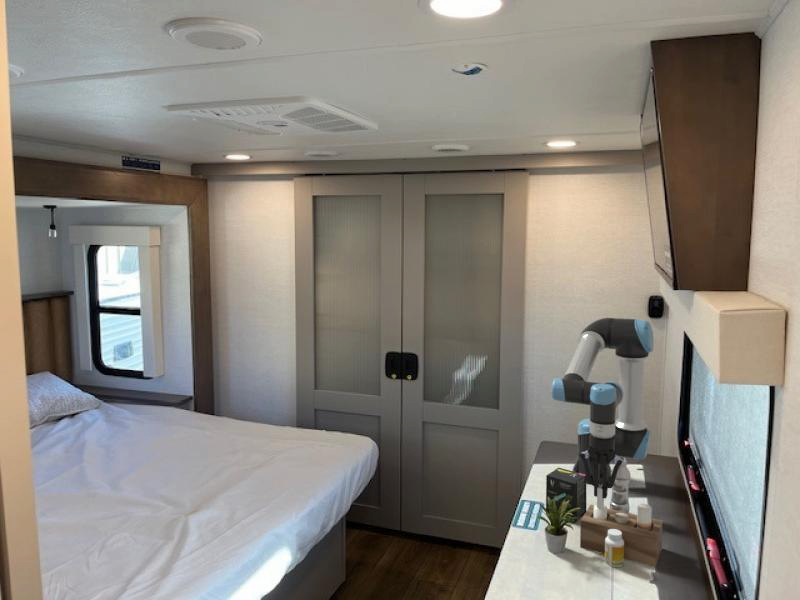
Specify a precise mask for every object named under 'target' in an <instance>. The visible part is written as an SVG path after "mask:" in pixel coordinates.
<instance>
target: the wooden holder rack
mask: <svg viewBox="0 0 800 600" xmlns="http://www.w3.org/2000/svg"><path fill="white" fill-rule="evenodd" d="M594 505H595V504H594ZM594 505H593V504H590V505H589V507H588V508H587V509H586V513H585V514H584V516H583V517H582V518H581V519H580V530H579V531H580V532H579V533H580V535H579V536H580V537H579V538H580V539H579V548H581V549H585V550H588V551H593V552H597V553H600V554H604V555H605V538H606V537H607V536H608V530H609V529H617V530H620V531H621V532H622V539H623V540H624V560H627V561H631V562H635V563H638V564H642V565H647V566H650V567H653V568H656V567H657V564H658V561H659V558H660V555H661V552H662V549H663V533H664V532H663V528H664V526H663V525H664V520H661V519H656V518H652V517H651V531H648V530H644V529H639V528H637V514H635V513H634V514H633V513H631V512H629V513H626V512H621V511H617V510H612V509H610V508H608V507H607V521H605V520H601V519H596V518H593V517H594Z"/></svg>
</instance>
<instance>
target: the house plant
mask: <svg viewBox="0 0 800 600" xmlns="http://www.w3.org/2000/svg"><path fill="white" fill-rule="evenodd" d="M568 502H569V500H568V501H566V502H565V499H564V501H563V503H562V504H561V506H560V508H559V510H558V512H557V507H556V504H555V500H554V498H553V503H554V507H553V503H552V502H551V500H550V498H549V497H548V505H549V507H548V508H549V513H550V514H549V513H548V511H547V510H546V506H544V505H543V504H541V503H540V502H539V503H538V504H539V505H540V506H541V508H542V509H543V511H542V510H541V512H543V513H544V515H545V516H546V517H547V519H546V518H545V517H544V516H542V515H536V516H535V518H536V519H538V520H539V519H540V520H542V521H543V522H545V523H547V526H544V536H545V542H546V548H547V551H548V552H550V553H552V554H555V555H559V554H562V553H564V552H565V550H566V544H567V539H568V533H569V532H568V529H567V528H569V529H572V530H574V527H573V526H572V525H571V523H570V522H573V521H575V520H573V519H574V518H578V517H573V518H572V517H571V516H568V515H569V514H571V513H572V512H575V511H574V510H576V509H580V508H575V509H572V510H570V511H567V512H564V511H565V509H566V508H567V504H568ZM546 514H547V515H546ZM564 514H565V515H564ZM563 515H564V516H563ZM571 515H573V514H571ZM562 516H563V517H562ZM561 517H562V518H561ZM566 518H570V519H568V520H567V519H566ZM565 519H566V521H564V520H565ZM569 523H570V524H569Z"/></svg>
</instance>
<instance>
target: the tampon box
mask: <svg viewBox="0 0 800 600" xmlns="http://www.w3.org/2000/svg"><path fill="white" fill-rule="evenodd" d="M586 477H587V476H586V475H584V474H581V473H577V472H573V470H569V469H566V468H562V467H557V468H556V469H554V470H552V471H551V472H549V473H548V474H547V475H545V481H546V482H545V508H546V510H547V511H548V513H549V508H548V507H549V505H548V497H549V498H550V500H551V502H552V503H553V498H554V500H555V504H556V507H557V512H558V510H559V508H560V506H561V504H562V503H563V501H564V499H565V502H566V501H568V500H569V502H568V504H567V508H566V509H565V511H564V512H567V511H570V510H572V509H575V508H580V509H576V510H574V511H575V512H572V513H571V514H573V515H571V514H569V515H568V516H571V517H572V518H573V517H578V518H574V519H573V520H575V521H573V522H570V524H574V525H575V523H578V521H579V520H581V519H582V517H583V516H584V514H585V513H586V511H587V483H586ZM553 507H554V503H553ZM545 514H546V513H545ZM549 514H550V513H549ZM546 515H547V514H546ZM546 515H545V516H546ZM564 515H565V514H564ZM564 515H563V516H564ZM563 516H562V517H563ZM562 517H561V518H562ZM566 519H567V520H568V519H570V518H566ZM566 519H565V520H564V522H565V521H566Z"/></svg>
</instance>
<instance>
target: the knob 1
mask: <svg viewBox="0 0 800 600" xmlns="http://www.w3.org/2000/svg"><path fill="white" fill-rule="evenodd" d="M607 508H608V507H607V506H606V505H604V506H603V508H602V509H599V508H597V504H594V517H593V518H596V519H601V520H605V521H607Z"/></svg>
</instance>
